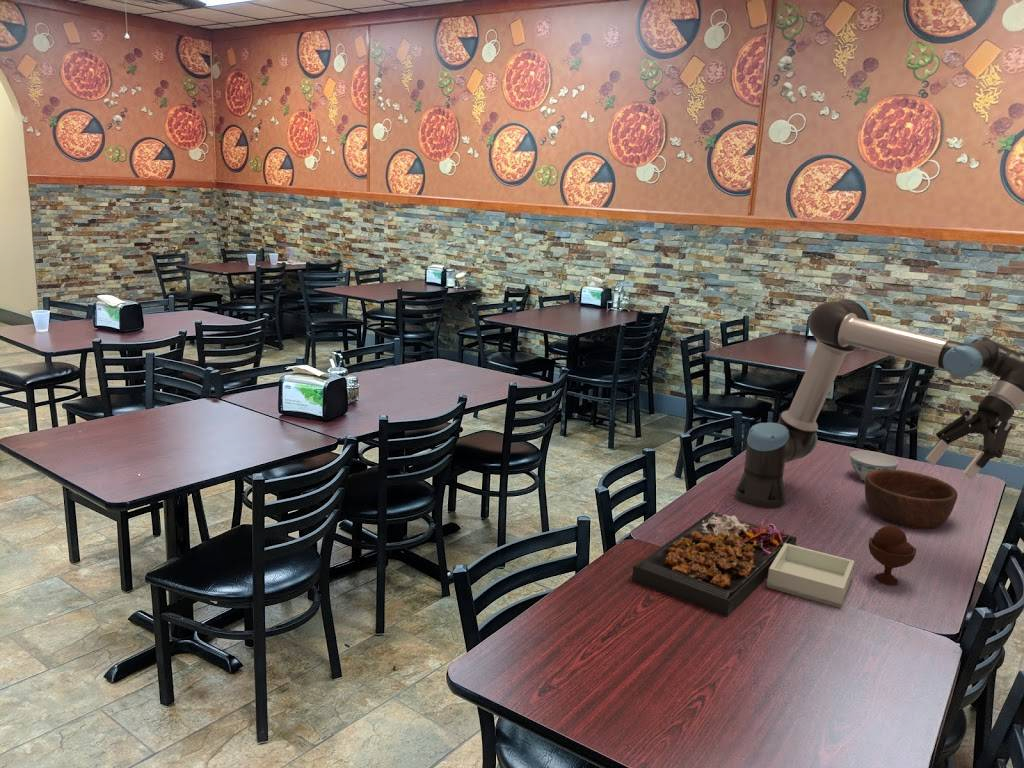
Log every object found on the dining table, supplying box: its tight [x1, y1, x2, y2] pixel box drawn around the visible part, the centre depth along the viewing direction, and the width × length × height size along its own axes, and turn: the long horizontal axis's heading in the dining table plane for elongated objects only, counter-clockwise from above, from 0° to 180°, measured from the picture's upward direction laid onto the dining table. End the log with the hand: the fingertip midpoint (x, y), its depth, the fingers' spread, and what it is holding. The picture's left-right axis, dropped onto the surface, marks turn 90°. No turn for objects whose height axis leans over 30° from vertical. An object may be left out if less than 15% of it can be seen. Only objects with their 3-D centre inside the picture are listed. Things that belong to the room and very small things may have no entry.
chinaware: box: [849, 450, 900, 482], centre depth 269 cm, size 15×15×8 cm
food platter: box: [631, 511, 797, 617], centre depth 204 cm, size 45×25×10 cm, turn 142°
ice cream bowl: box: [868, 524, 917, 587], centre depth 199 cm, size 11×11×15 cm
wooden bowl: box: [864, 469, 958, 530], centre depth 240 cm, size 25×25×10 cm
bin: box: [766, 543, 855, 609], centre depth 197 cm, size 17×17×5 cm
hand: (947, 469), depth 201 cm, fingers open, 13 cm apart
